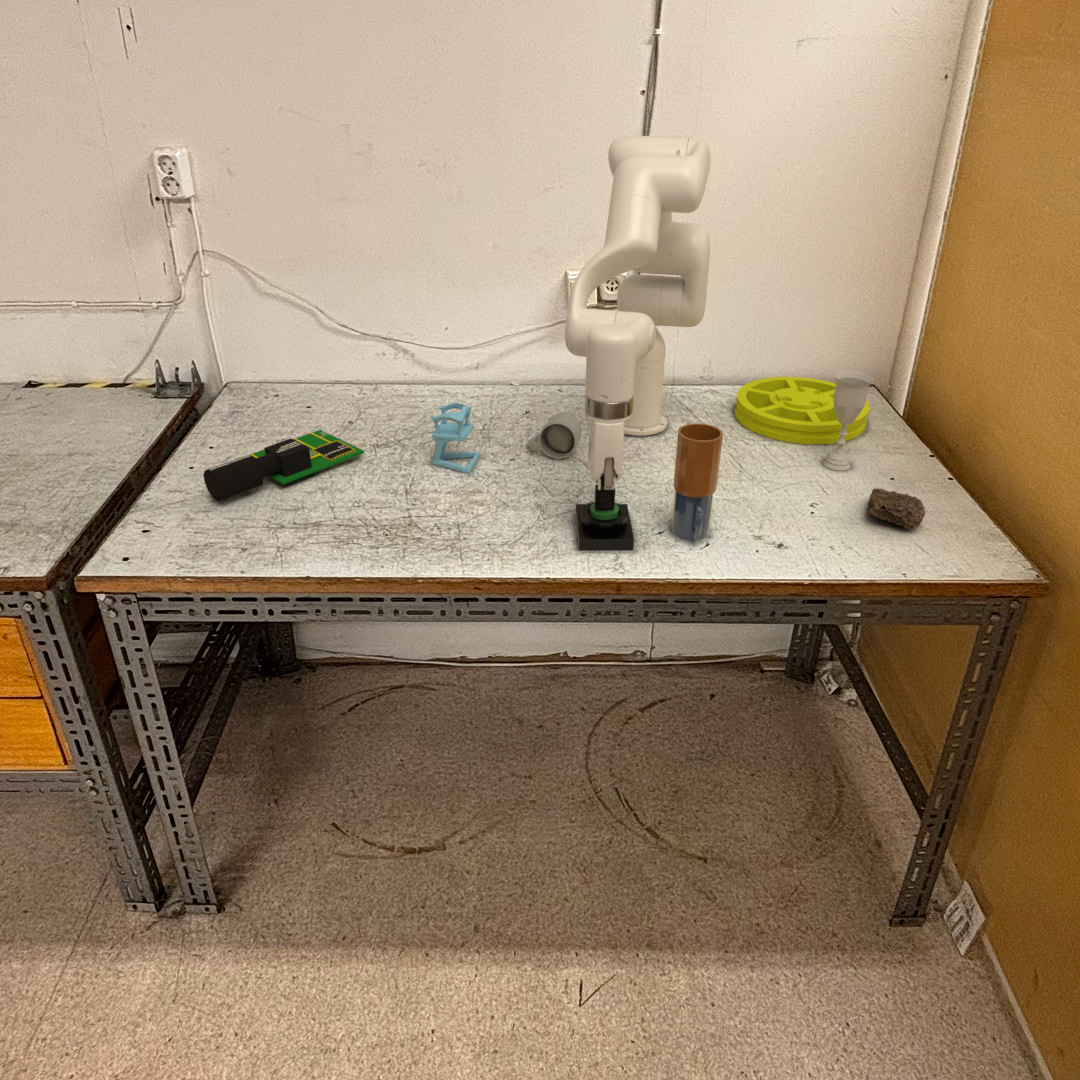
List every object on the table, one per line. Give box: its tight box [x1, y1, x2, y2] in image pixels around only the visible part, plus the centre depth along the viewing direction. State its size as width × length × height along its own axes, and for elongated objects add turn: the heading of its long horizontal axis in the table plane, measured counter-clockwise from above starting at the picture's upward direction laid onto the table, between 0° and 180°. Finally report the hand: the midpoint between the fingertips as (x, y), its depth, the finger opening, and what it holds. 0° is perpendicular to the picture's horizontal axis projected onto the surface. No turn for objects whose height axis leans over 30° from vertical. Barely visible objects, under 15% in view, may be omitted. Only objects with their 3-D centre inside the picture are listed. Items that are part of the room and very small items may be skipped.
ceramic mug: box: [527, 411, 583, 460], centre depth 173 cm, size 11×8×8 cm
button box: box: [575, 501, 635, 552], centre depth 146 cm, size 12×9×4 cm
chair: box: [431, 402, 480, 474], centre depth 167 cm, size 8×8×12 cm
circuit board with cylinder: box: [203, 429, 365, 503], centre depth 165 cm, size 30×7×15 cm
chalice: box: [823, 369, 874, 471], centre depth 165 cm, size 7×7×18 cm
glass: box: [673, 422, 724, 498], centre depth 140 cm, size 7×7×10 cm
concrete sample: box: [866, 487, 926, 529], centre depth 150 cm, size 12×10×5 cm
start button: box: [590, 503, 619, 520], centre depth 145 cm, size 5×5×2 cm
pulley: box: [734, 376, 870, 445], centre depth 188 cm, size 28×28×5 cm
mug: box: [671, 490, 714, 542], centre depth 144 cm, size 9×6×8 cm
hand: (604, 507), depth 144 cm, fingers closed
